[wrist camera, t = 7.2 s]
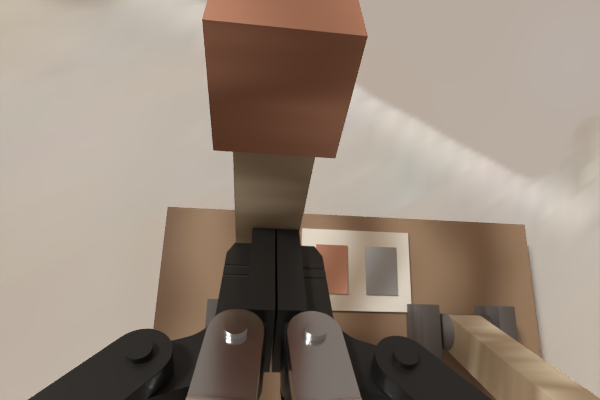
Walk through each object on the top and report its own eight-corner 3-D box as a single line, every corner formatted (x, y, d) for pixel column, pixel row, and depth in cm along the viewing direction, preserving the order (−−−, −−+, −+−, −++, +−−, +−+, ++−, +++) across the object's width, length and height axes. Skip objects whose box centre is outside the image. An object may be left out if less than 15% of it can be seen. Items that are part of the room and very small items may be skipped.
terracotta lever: (229, 359, 21) (196, 18, 6) (233, 310, 23) (215, -47, 8) (283, 359, 21) (373, 36, 7) (283, 311, 23) (354, -30, 8)
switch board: (147, 448, 22) (122, 483, 18) (174, 214, 26) (158, 196, 22) (530, 442, 25) (589, 473, 20) (505, 230, 28) (551, 217, 24)
